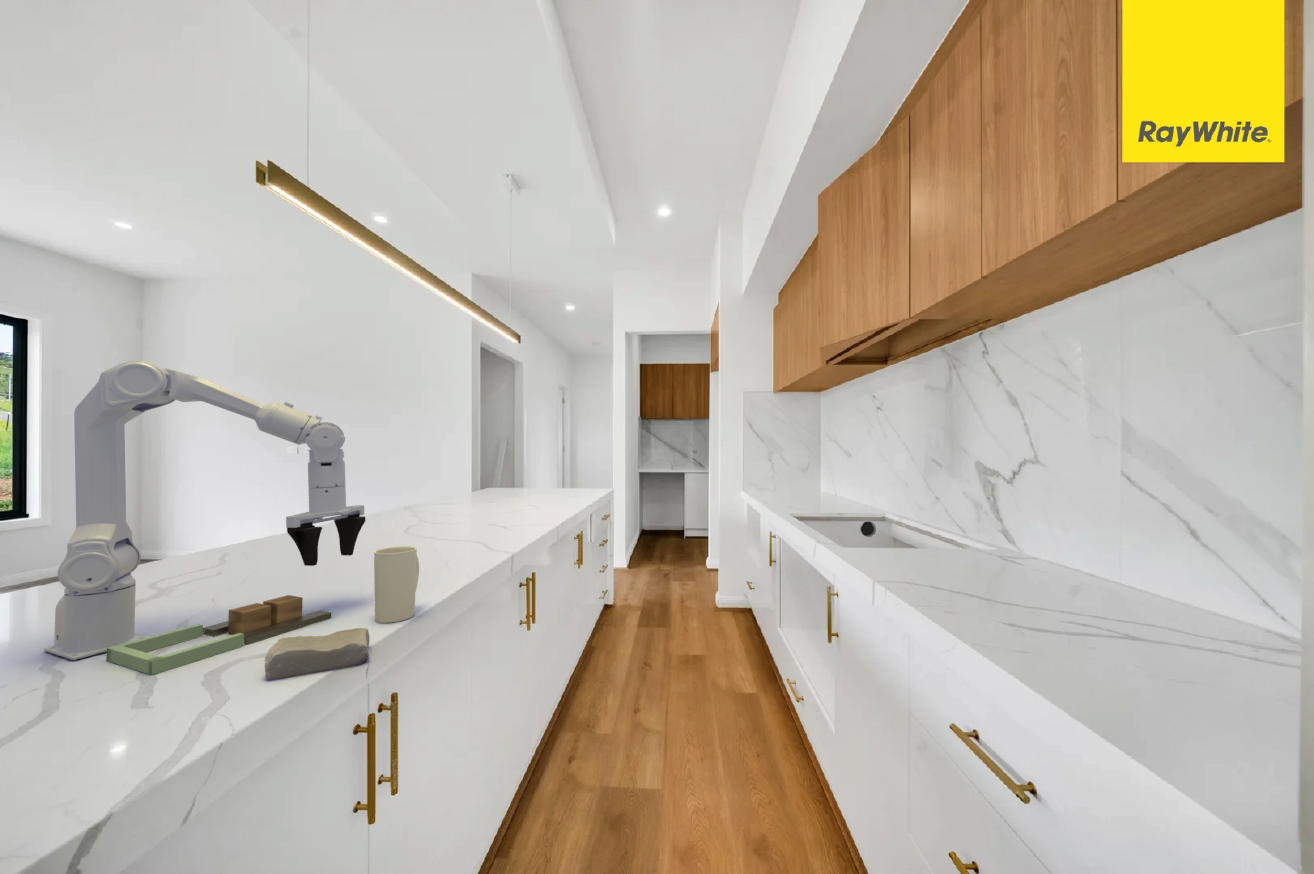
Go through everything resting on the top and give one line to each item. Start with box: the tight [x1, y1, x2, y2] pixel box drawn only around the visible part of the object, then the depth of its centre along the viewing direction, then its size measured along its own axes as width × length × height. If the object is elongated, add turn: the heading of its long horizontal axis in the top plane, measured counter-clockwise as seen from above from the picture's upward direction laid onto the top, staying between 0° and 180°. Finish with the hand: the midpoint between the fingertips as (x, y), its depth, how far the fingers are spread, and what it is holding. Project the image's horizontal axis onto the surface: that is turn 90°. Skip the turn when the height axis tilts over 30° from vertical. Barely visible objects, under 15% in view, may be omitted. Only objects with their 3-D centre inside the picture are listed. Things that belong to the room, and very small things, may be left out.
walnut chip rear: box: [262, 594, 303, 625], centre depth 85 cm, size 4×4×4 cm
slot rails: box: [203, 609, 332, 645], centre depth 83 cm, size 12×13×1 cm
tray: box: [105, 623, 245, 676], centre depth 72 cm, size 12×10×2 cm
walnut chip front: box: [227, 602, 271, 636], centre depth 80 cm, size 4×4×4 cm
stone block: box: [264, 627, 370, 682], centre depth 69 cm, size 12×5×10 cm
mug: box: [373, 545, 420, 624], centre depth 89 cm, size 10×7×12 cm, turn 173°
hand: (329, 559), depth 90 cm, fingers open, 7 cm apart
